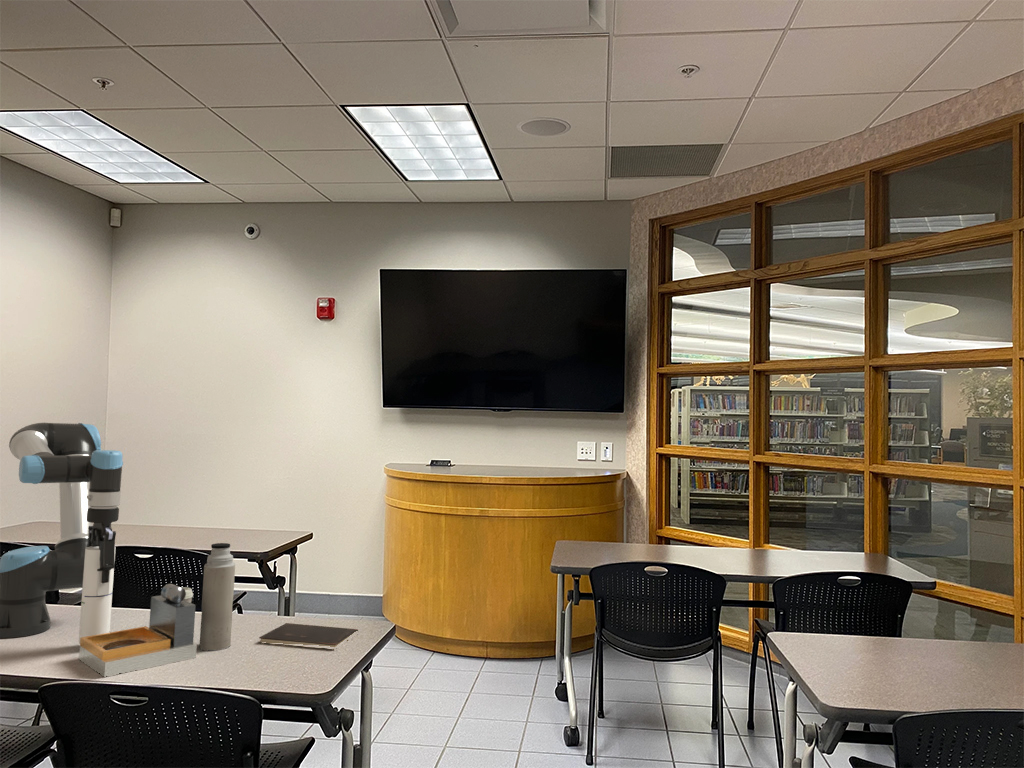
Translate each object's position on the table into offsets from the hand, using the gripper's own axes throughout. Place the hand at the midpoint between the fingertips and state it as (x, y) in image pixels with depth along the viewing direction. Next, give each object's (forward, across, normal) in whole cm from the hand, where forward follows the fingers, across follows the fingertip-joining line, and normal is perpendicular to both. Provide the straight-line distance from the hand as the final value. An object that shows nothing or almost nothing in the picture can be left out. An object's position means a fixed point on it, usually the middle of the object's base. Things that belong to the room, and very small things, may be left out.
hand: (97, 591), depth 192 cm
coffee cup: (+15, -1, +22) cm, 27 cm away
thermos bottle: (+15, +20, +24) cm, 35 cm away
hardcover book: (+15, +32, +47) cm, 58 cm away
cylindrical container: (+13, 0, 0) cm, 13 cm away
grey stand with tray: (+15, +17, +5) cm, 23 cm away
